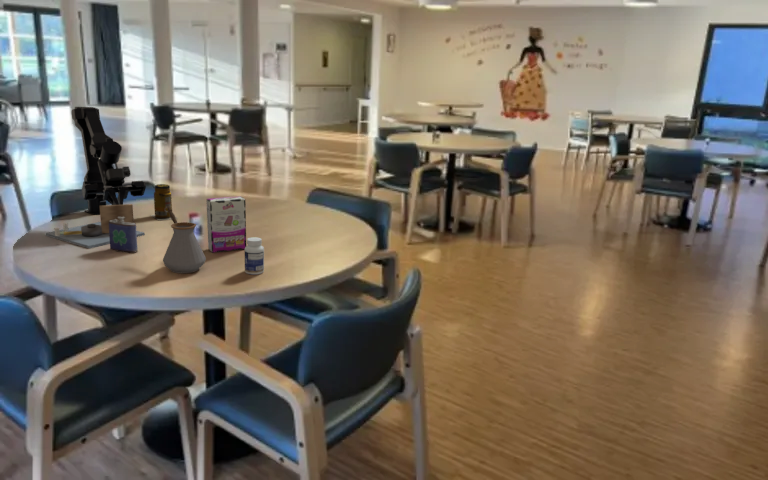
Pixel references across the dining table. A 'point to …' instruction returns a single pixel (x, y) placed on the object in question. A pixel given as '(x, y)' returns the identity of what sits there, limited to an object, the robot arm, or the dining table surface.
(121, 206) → the brown piece
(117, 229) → the flask
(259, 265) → the pill bottle
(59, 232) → the stand
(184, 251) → the coffee pot
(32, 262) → the dining table surface
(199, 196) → the dining table surface
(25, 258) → the dining table surface
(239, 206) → the candy bar box
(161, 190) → the condiment
